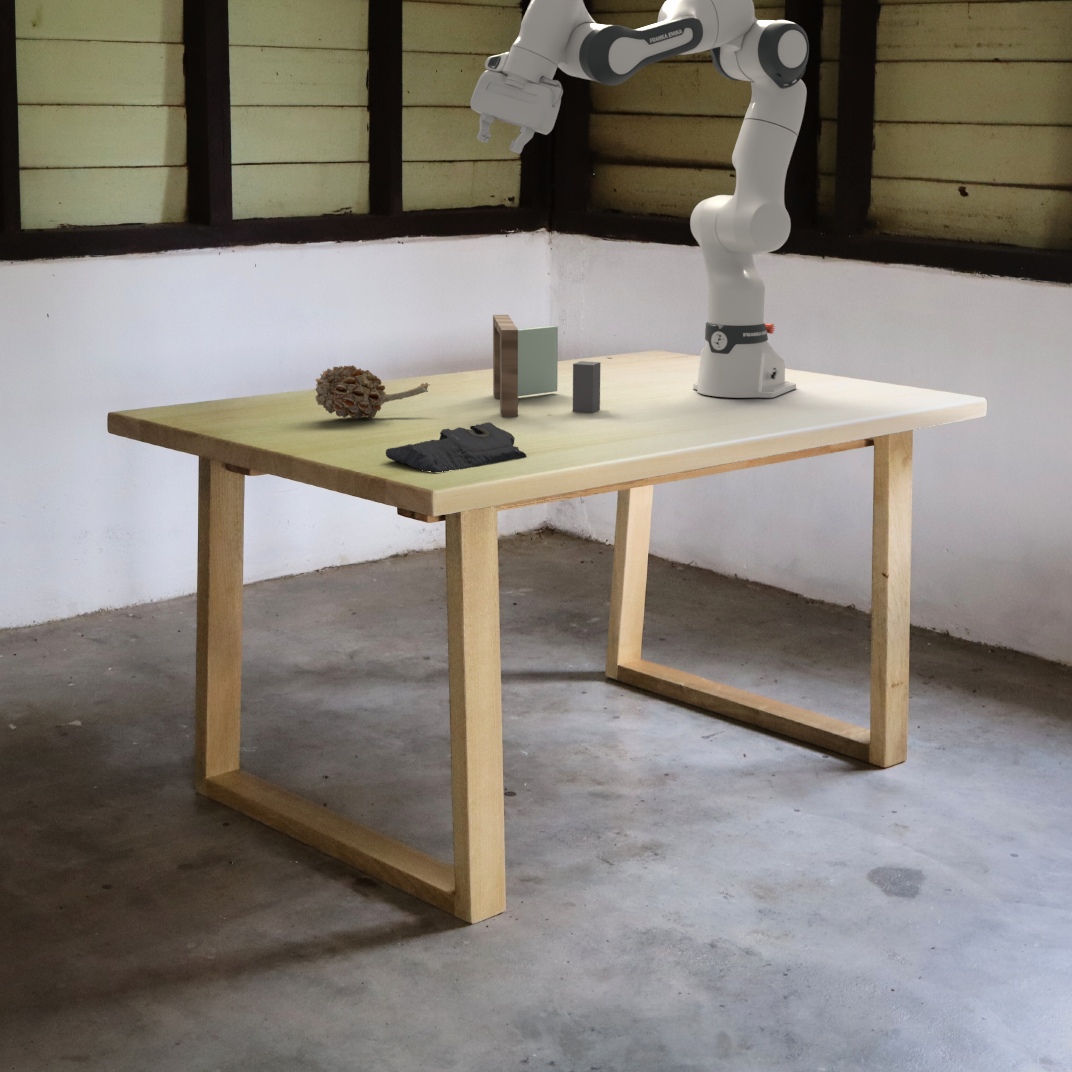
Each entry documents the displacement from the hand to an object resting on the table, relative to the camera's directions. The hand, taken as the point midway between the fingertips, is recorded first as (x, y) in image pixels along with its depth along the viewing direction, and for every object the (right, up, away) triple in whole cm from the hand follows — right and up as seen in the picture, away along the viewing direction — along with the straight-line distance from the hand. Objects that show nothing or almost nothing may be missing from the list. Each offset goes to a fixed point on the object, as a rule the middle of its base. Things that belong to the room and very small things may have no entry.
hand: (497, 146), depth 270 cm
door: (+5, -41, +32) cm, 52 cm away
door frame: (+1, -44, +21) cm, 49 cm away
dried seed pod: (-23, -48, +8) cm, 54 cm away
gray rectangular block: (+16, -46, +16) cm, 51 cm away
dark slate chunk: (-6, -58, -27) cm, 64 cm away
